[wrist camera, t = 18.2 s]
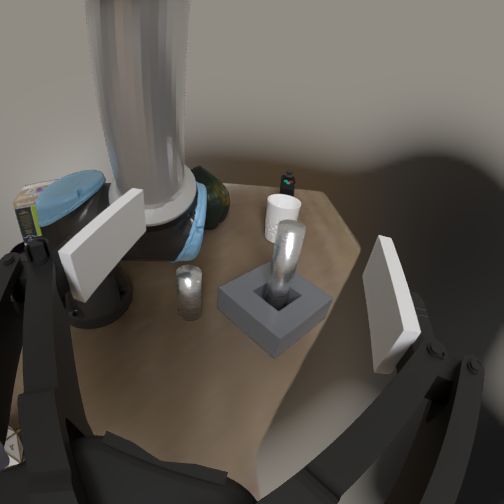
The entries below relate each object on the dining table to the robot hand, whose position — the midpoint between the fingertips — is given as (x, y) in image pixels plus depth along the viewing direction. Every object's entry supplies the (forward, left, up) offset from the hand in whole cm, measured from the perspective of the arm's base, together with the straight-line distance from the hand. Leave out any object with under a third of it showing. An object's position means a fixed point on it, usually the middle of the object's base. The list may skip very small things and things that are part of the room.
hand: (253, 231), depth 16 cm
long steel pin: (-12, +21, -30) cm, 39 cm away
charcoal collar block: (-12, +21, -30) cm, 39 cm away
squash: (-46, +29, -31) cm, 63 cm away
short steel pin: (-21, +10, -30) cm, 38 cm away
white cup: (-29, +41, -31) cm, 59 cm away
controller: (-40, +56, -31) cm, 75 cm away
